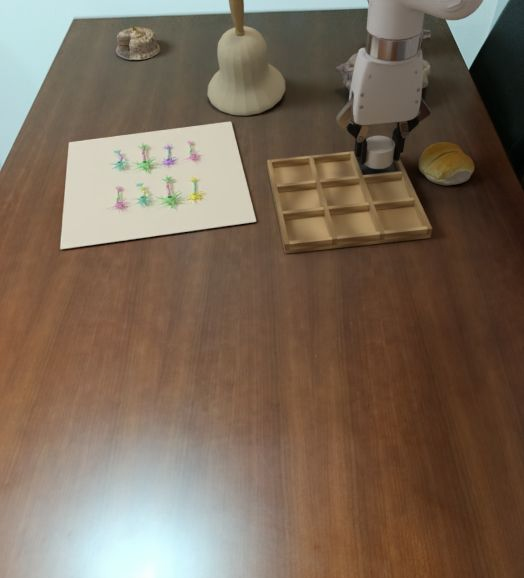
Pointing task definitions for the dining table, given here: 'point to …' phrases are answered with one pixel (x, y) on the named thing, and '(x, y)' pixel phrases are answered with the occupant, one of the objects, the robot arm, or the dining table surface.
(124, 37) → the cake
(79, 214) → the printed paper
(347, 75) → the geode
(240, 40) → the handbell
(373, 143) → the white cylinder puck
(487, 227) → the dining table surface
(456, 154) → the bread roll
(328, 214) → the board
